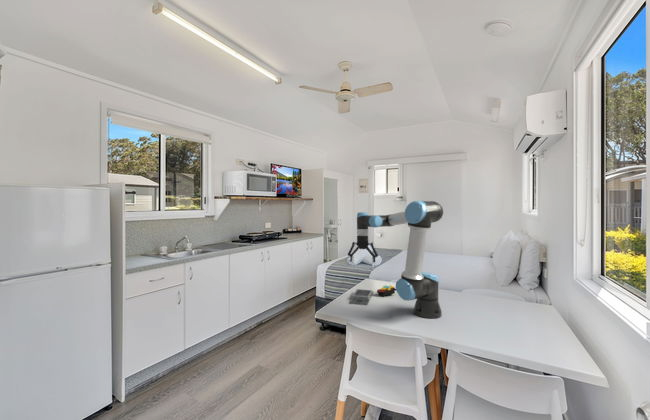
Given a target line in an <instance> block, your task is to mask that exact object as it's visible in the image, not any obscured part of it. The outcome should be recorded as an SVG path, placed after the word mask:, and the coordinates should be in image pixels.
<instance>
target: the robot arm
mask: <svg viewBox="0 0 650 420" xmlns="http://www.w3.org/2000/svg"><path fill="white" fill-rule="evenodd" d="M404 209H405V210H404V211H402V212H401V211H400V212H397V213H391V214H385V215H383V214H382V215H381V214H380V215H375V214H374V215H370V214H369V212H365V211H364V212H363V211H362V212H356V241H353V242H352V243H351V247H350V249H349V251H348V253H347V256H348V257H349V261H350V262H351V267H354V266H355V265H354V264H355V259H354V258H355V257H354V255H355V254H356V253H357V251H358V250H359V249H360V250H367V252H368V253H369V254H370V255H371V256H372V258H371V268H374V267H375V263H376V258H378V257H379V254H378V252H377V250H376V248H375V246H374V242H369V227H370V228H380V227H383V228H384V227H388V228H389V227H395V226H399V225H406V224H407V226H408V227H409V234H408V235H409V236H408V244H407V251H406V258H405V259H406V260H405V268H404V271H402V272H401V276H400V278H398V280H397V281H396V282H395V289H396V293H397V294H398V296H399V298H401V299H402V300H403V301H408V302H409V301H414V300H416V301H415V302H414V306H413V313H414V314H415V315H417V316H419V317H420V318H423V319H424V318H426V319H438V318H441V317H442V315H443V311H442V308H441V305H440V303H439V276H438V275H437V274H434V273H431V272H430V273H429V272H424V271H423V272H422V270H423V265H424V264H423V263H424V256H425V248H426V243H427V242H426V241H427V236H428V235H427V233H428V231H429V230H430V229H431V228H432V223H436V222H439V221H440V220H441V219H442V218H443V216H444V208H443V206H442V205H441V203H439V202H437V201H434V200H431V201H430V200H414V201H411V202H410V203H408V204H407V206H406V207H405V208H404ZM355 246H357V247H356V248H355V249H354V247H355ZM369 246H370V247H369ZM370 248H371V249H372V250H371V249H370ZM353 249H354V250H353ZM352 251H353V252H352Z"/></svg>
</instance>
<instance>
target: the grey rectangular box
mask: <svg viewBox="0 0 650 420" xmlns="http://www.w3.org/2000/svg"><path fill="white" fill-rule="evenodd" d="M373 294H374V291H373V290H372V289H361V288H356V290H355V291H354V293H352V295H351V300H350V301H349V304H350V305H360V306H368V304H369V303H370V301H371V299H372V297H373Z"/></svg>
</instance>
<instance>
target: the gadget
mask: <svg viewBox="0 0 650 420" xmlns="http://www.w3.org/2000/svg"><path fill="white" fill-rule="evenodd" d="M395 291H396V287H394V286H393V285H383V286H382V287H381V288H379V289H377V290H376V293H377V294H378V296H380V297H385V296H392V295H393V294H395V293H396V292H397V291H396V292H395Z"/></svg>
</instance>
